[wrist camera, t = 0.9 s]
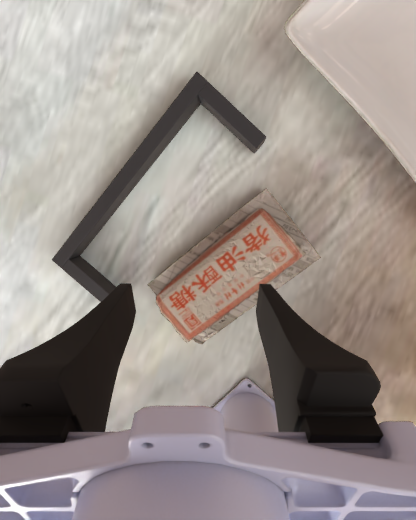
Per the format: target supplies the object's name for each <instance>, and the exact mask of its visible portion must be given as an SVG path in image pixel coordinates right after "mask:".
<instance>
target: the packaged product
mask: <svg viewBox="0 0 416 520" xmlns="http://www.w3.org/2000/svg"><path fill="white" fill-rule="evenodd" d="M320 258H321V257H320V256H319V254H318V253H317V252H316V250H315V249H314V248H313V247H312V245H311V244H310V243H309V241H308V240H307V239H306V238H305V236H304V235H303V234H302V233H301V231H300V230H299V229H298V227H297V226H296V225H295V223H294V222H293V221H292V219H291V218H290V217H289V216H288V214H287V213H286V212H285V211H284V209H283V208H282V207H281V206H280V204H279V203H278V202H277V201H276V199H275V198H274V197H273V196H272V195H271V193H270V192H269V191H268V190H267V188H266V189H265V190H264V191H262V192H261V193H260V194H259V195H257V196H256V197H255V198H253V199H252V200H251V201H250V202H248V203H247V204H246V205H244V206H243V207H242V208H240V209H239V210H238V211H237V212H236V213H234V214H233V215H232V216H231V217H230V218H228V219H227V220H226V221H225V222H224V223H223V224H221V225H220V226H219V227H218V228H217V229H215V230H214V231H213V232H212V233H211V234H209V235H208V236H207V237H205V238H204V239H203V240H202V241H200V242H199V243H198V244H197V245H195V246H194V247H193V248H192V249H191V250H189V251H188V252H187V253H186V254H185V255H184V256H182V257H180V258H179V259H178V260H177V261H176V262H174V263H173V264H172V265H171V266H169V267H168V268H167V269H166V270H165V271H164V272H162V273H161V274H160V275H159V276H158V277H157V278H155V279H154V280H153V281H151V282H150V283H149V284H148V286H149V287H150V288H151V289H152V291H153V292H154V293H155V294H156V295H157V297H156V303H157V305H158V306H159V308H160V311H161V314H162V315H163V316H164V317H165V318H167V320H168V321H170V322H171V323H172V325H173V327H174V328H175V329H176V331H177V332H178V333H179V334H180V335H181V336H182V338H183V340H184V341H185V342H186V343H187V342H189V341H190V340H192V339H193V340H194V341H195V342H197V343H200V344H203V343H204V342H205V341H206V340H208V339H209V338H211V337H212V336H213V335H215V334H216V333H218V332H219V331H220V330H222V329H223V328H224V327H226V326H227V325H228V324H230V323H231V322H232V321H234V320H235V319H237V318H238V317H239V316H241V315H242V314H243V313H245V312H246V311H248V310H250V309H251V308H252V307H254V306H255V305H256V304H257V300H258V292H259V284H271V285H272V286H273V287H274V289H275V290H277V289H278V288H279V287H281V286H282V285H284V284H285V283H287V282H288V281H289V280H291V279H292V278H293V277H295V276H296V275H298V274H299V273H301V272H302V271H303V270H304V269H306V268H307V267H309V266H310V265H311V264H313V263H314V262H315V261H317V260H319V259H320Z"/></svg>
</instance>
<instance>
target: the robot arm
mask: <svg viewBox="0 0 416 520" xmlns="http://www.w3.org/2000/svg"><path fill="white" fill-rule="evenodd" d="M135 314H136V309H135V303H134V298H133V292H132V286H131V284H119V285H118V286H117V287H116V288H115V289H114V290H113V291H112V292H111V293H110V294H109V295H108V296H107V297H106V298H105V299H104V300H103V301H102V302H101V303H99V304H98V305H97V306H96V307H95V308H94V309H93V310H92V311H90V312H89V313H88V314H87V315H86V316H85V317H83V318H82V319H81V320H79V321H78V322H77V323H75V324H74V325H73V326H71V327H70V328H68V329H67V330H65V331H64V332H62V333H60V334H59V335H57V336H55V337H54V338H52V339H50V340H49V341H47V342H45V343H43V344H41V345H39V346H37V347H35V348H33V349H31V350H29V351H27V352H25V353H23V354H20V355H18V356H16V357H14V358H11V359H9V360H6V362H5V363H4V364H3V365H2V367H1V368H0V520H416V427H415V425H414V424H413V422H410V421H386V422H382V423H379V424H377V422H376V420H375V418H374V416H375V415H376V412H375V410H374V408H373V406H372V404H373V402H374V400H375V398H376V396H377V394H378V393H379V390H380V387H381V385H380V381H379V379H378V378H377V376H376V374H375V372H374V371H373V369H372V368H371V366H370V365H369V363H368V362H367V361H366V360H364V359H362V358H360V357H358V356H356V355H354V354H352V353H350V352H348V351H346V350H345V349H343V348H341V347H340V346H338V345H336V344H335V343H333V342H331V341H330V340H328V339H327V338H326V337H324V336H323V335H321V334H320V333H318V332H317V331H316V330H315V329H313V328H312V327H311V326H310V325H308V324H307V323H306V322H305V321H304V320H303V319H301V318H300V317H299V316H298V315H297V314H296V313H295V312H294V311H293V310H292V308H291V307H290V306H289V305H288V304H287V303H286V302H285V301H284V300H283V298H282V297H281V296H280V295H279V294H278V292H277V291H276V290H275V289H274V287H273V286H272V285H271V284H259V292H258V300H257V308H256V315H257V322H258V328H259V332H260V336H261V340H262V343H263V347H264V350H265V354H266V358H267V361H268V366H269V370H270V376H271V383H272V389H273V396H274V400H273V399H271V398H270V397H269V396H268V395H267V394H266V393H265V392H263V391H262V390H261V389H260V388H259V387H258V386H257V385H255V384H254V383H253V382H252V381H251V380H250V379H248V378H245V379H243V380H242V381H241V382H240V383H239V384H238V385H237V386H236V387H235V388H234V389H233V390H232V391H231V392H230V393H228V394H227V395H226V396H225V397H224V398H223V399H222V400H221V401H220V402H219V403H218V404H217V405H216V406H215V407H213V408H212V407H206V406H149V407H143V408H142V409H140V410H139V411H137V412H136V413H135V414H134V418H133V423H132V427H131V429H129V430H124V431H119V432H105V428H106V422H107V417H108V412H109V407H110V402H111V398H112V393H113V388H114V384H115V380H116V376H117V372H118V368H119V365H120V361H121V359H122V356H123V353H124V350H125V347H126V345H127V342H128V339H129V336H130V333H131V331H132V328H133V323H134V319H135ZM248 384H251V385H250V386H248Z"/></svg>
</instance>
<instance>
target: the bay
mask: <svg viewBox="0 0 416 520" xmlns="http://www.w3.org/2000/svg"><path fill="white" fill-rule="evenodd" d="M200 104H202V105H203V106H204V107H205V108H206V109H207V110H208V111H210V112H211V113H212V114H213V115H214V116H215V117H216V118H217V119H218V120H219V121H220V122H221V123H222V124H223V125H224V126H226V127H227V128H228V129H229V130H230V131H231V132H232V133H233V134H234V135H235V136H236V137H237V138H238V139H239V140H240V141H241V142H243V143H244V144H245V145H246V146H247V147H248V148H249V149H250V150H251V151H252V152H253V153H255V152H256V151H257V150H258V149H259V148H260V146H261V145H262V144H263V143H264V141H265V139H266V136H265V135H264V134H263V133H262V132H261V131H260V130H259V129H257V128H256V127H255V126H254V125H253V124H252V123H251V122H250V121H249V120H248V119H247V118H246V117H245V116H244V115H243V114H242V113H241V112H239V111H238V110H237V109H236V108H235V107H234V106H233V105H232V104H231V103H230V102H229V101H228V100H227V99H226V98H225V97H224V96H223V95H222V94H220V93H219V92H218V91H217V90H216V89H215V88H214V87H213V86H212V85H211V84H210V83H209V82H208V81H207V80H206V79H205V78H204V77H202V76H201V75H200V74H199V73H198V72H196V73H195V74H194V76H193V77H192V78H191V80H190V81H189V82H188V84H187V85H186V86H185V87H184V89H183V90H182V91H181V93H180V94H179V95H178V97H177V98H176V99H175V100H174V102H173V103H172V104H171V106H170V107H169V108H168V110H167V111H166V112H165V113H164V115H163V116H162V117H161V119H160V120H159V121H158V123H157V124H156V125H155V126H154V128H153V129H152V130H151V132H150V133H149V134H148V136H147V137H146V138H145V139H144V141H143V142H142V143H141V145H140V146H139V147H138V149H137V150H136V151H135V152H134V154H133V155H132V156H131V158H130V159H129V160H128V162H127V163H126V164H125V165H124V167H123V168H122V169H121V171H120V172H119V173H118V175H117V176H116V177H115V178H114V180H113V181H112V182H111V184H110V185H109V186H108V188H107V189H106V190H105V191H104V193H103V194H102V195H101V197H100V198H99V199H98V201H97V202H96V203H95V204H94V206H93V207H92V208H91V210H90V211H89V212H88V214H87V215H86V216H85V217H84V219H83V220H82V221H81V223H80V224H79V225H78V227H77V228H76V229H75V230H74V232H73V233H72V234H71V236H70V237H69V238H68V240H67V241H66V242H65V243H64V245H63V246H62V247H61V249H60V250H59V251H58V253H57V254H56V255H55V256H54V258H53V259H52V260H53V261H54V262H55V263H56V264H57V265H58V266H60V267H61V268H62V269H63V270H64V271H65V272H67V273H68V274H69V275H70V276H71V277H72V278H74V279H75V280H76V281H77V282H78V283H79V284H81V285H82V286H83V287H84V288H85V289H86V290H88V291H89V292H90V293H91V294H92V295H93V296H95V297H96V298H97V299H98V300H99V301H100V302H102V301H103V300H104V299H105V298H106V297H107V296H108V295H109V294H110V293H111V292H112V291H113V290H114V289H115V288H116V286H114V285H113V284H112V283H111V282H110V281H109V280H107V279H106V278H105V277H104V276H103V275H102V274H101V273H99V272H98V271H97V270H96V269H95V268H94V267H92V266H91V265H90V264H89V263H88V262H87V261H85V260H84V259H83V258H82V257H81V256H80V255H81V254H82V253H83V251H84V250H85V249H86V248H87V246H88V245H89V244H90V242H91V241H92V240H93V239H94V237H95V236H96V235H97V234H98V232H99V231H100V230H101V229H102V227H103V226H104V225H105V224H106V222H107V221H108V220H109V218H110V217H111V216H112V215H113V213H114V212H115V211H116V210H117V208H118V207H119V206H120V205H121V203H122V202H123V201H124V200H125V198H126V197H127V196H128V195H129V193H130V192H131V191H132V189H133V188H134V187H135V186H136V184H137V183H138V182H139V181H140V179H141V178H142V177H143V176H144V174H145V173H146V172H147V171H148V169H149V168H150V167H151V166H152V164H153V163H154V162H155V160H156V159H157V158H158V157H159V155H160V154H161V153H162V152H163V150H164V149H165V148H166V147H167V145H168V144H169V143H170V142H171V140H172V139H173V138H174V136H175V135H176V134H177V133H178V131H179V130H180V129H181V128H182V126H183V125H184V124H185V123H186V121H187V120H188V119H189V118H190V116H191V115H192V114H193V113H194V111H195V110H196V109H197V107H198V106H199V105H200Z"/></svg>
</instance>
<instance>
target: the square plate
mask: <svg viewBox="0 0 416 520" xmlns="http://www.w3.org/2000/svg"><path fill="white" fill-rule="evenodd" d="M284 30H285V33H286V34H287V36H288V37H289V39H290V40H291V41H292V42H293V44H294V45H295V46H296V47H297V49H298V50H299V51H300V52H301V53H302V54H303V55H304V56H305V57H306V58H307V60H308V61H309V62H310V63H311V64H312V65H313V66H314V67H315V68H316V69H317V70H318V71H319V72H320V73H321V74H322V75H323V76H324V77H325V78H326V79H327V81H328V82H329V83H330V84H331V85H332V86H333V87H334V88H335V89H336V90H337V91H338V92H339V93H340V94H341V95H342V96H343V97H344V98H345V100H346V101H347V102H348V103H349V104H350V105H351V106H352V107H353V108H354V109H355V110H356V111H357V113H358V114H359V115H360V116H361V117H362V118H363V119H364V120H365V121H366V123H367V124H368V125H369V126H370V127H371V128H372V129H373V131H374V132H375V133H376V134H377V135H378V136H379V138H380V139H381V140H382V141H383V142H384V144H385V145H386V146H387V147H388V148H389V150H390V151H391V152H392V153H393V154H394V156H395V157H396V158H397V160H398V161H399V162H400V164H401V165H402V166H403V167H404V169H405V170H406V171H407V173H408V174H409V175H410V176H411V178H412V179H413V180H414V182H415V183H416V0H305V1H304V2H303V3H302V4H301V5H300V6H299V7H298V8H297V9H296V11H295V12H294V13H293V14H292V15H291V16H290V17H289V19H288V20H287V21H286V23H285V26H284Z"/></svg>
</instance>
